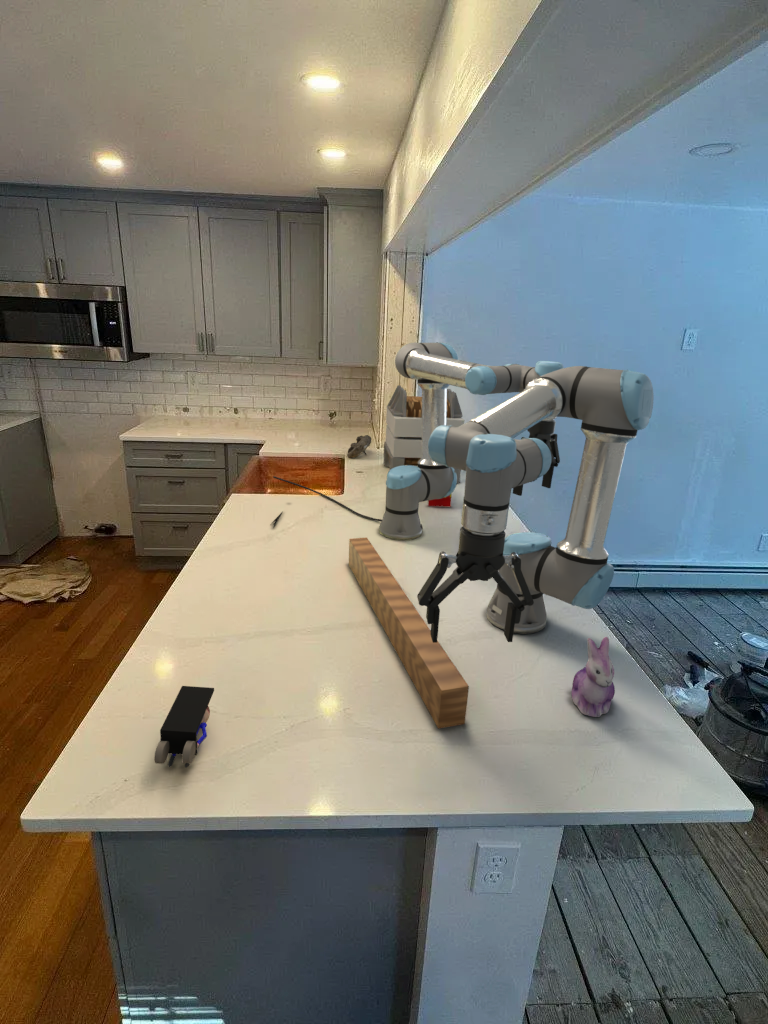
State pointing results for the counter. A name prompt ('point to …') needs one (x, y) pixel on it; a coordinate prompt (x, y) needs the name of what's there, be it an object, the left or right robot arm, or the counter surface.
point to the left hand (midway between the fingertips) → (531, 490)
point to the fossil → (359, 446)
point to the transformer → (412, 428)
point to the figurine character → (184, 725)
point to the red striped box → (441, 502)
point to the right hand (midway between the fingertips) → (471, 638)
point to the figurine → (594, 681)
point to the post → (410, 637)
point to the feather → (276, 520)
